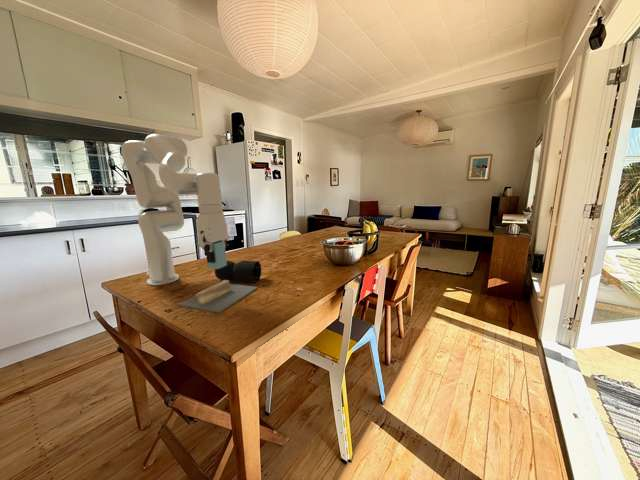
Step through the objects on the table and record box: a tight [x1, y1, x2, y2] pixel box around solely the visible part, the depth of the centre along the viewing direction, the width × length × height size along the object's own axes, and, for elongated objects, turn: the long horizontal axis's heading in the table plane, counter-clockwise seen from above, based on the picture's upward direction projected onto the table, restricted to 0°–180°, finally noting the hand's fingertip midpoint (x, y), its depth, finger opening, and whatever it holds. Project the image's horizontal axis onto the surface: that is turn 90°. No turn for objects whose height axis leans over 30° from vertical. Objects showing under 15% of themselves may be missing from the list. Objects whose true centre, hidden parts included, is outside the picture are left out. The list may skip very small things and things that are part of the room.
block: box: [206, 241, 227, 270], centre depth 91 cm, size 4×4×9 cm
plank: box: [195, 280, 231, 305], centre depth 95 cm, size 2×14×4 cm, turn 160°
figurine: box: [214, 260, 262, 283], centre depth 113 cm, size 9×9×20 cm
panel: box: [178, 283, 259, 314], centre depth 97 cm, size 18×22×1 cm
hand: (216, 259), depth 91 cm, fingers closed on block, 4 cm apart
